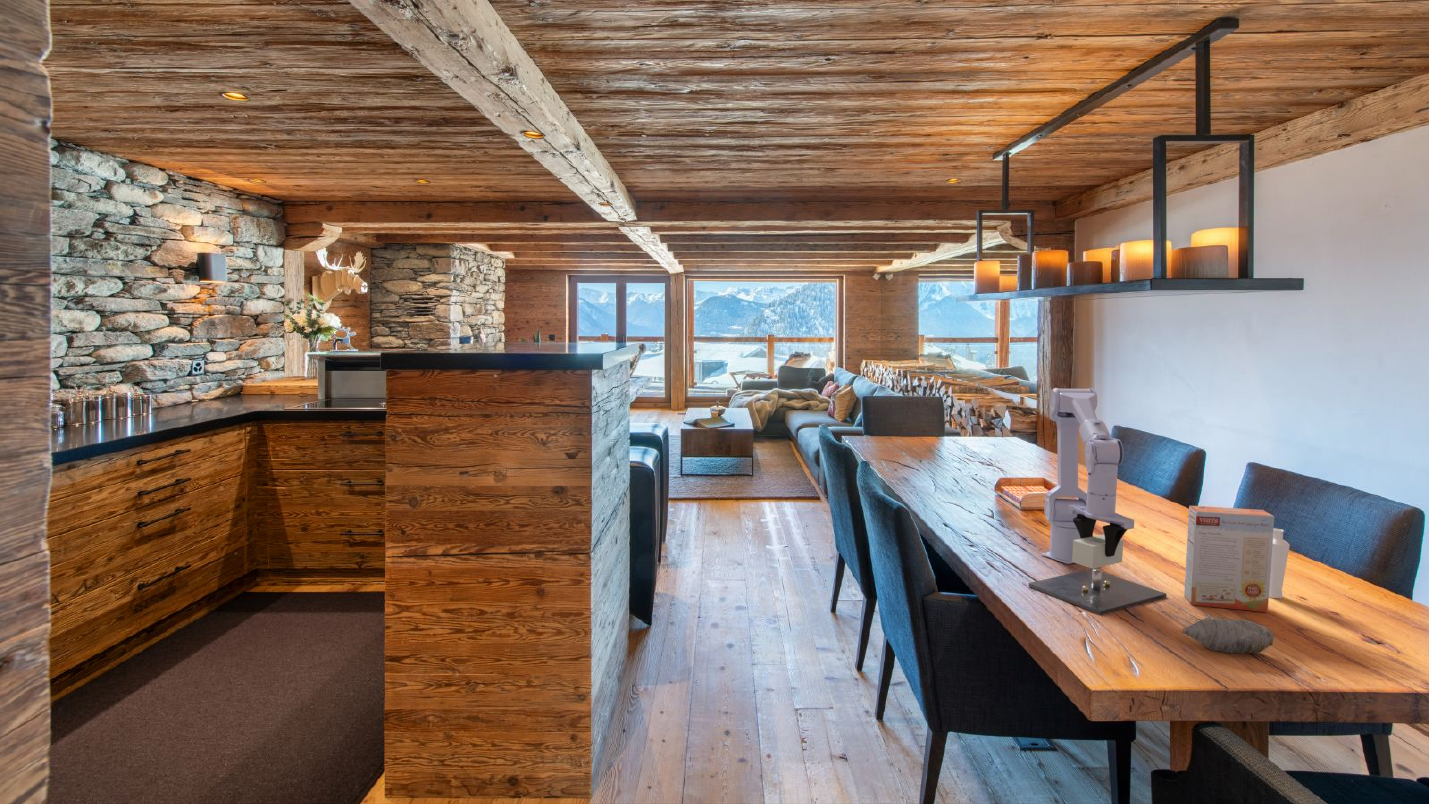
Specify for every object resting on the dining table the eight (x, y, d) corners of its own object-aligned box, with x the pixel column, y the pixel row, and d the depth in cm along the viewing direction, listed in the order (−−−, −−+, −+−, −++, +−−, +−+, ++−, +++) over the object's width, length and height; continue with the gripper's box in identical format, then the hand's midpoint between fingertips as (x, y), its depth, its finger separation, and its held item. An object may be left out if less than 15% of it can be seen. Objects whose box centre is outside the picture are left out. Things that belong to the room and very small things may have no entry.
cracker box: (1257, 603, 153) (1265, 508, 151) (1268, 614, 148) (1276, 516, 145) (1182, 595, 158) (1188, 503, 156) (1190, 605, 152) (1197, 510, 150)
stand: (1092, 571, 173) (1093, 551, 172) (1166, 597, 157) (1167, 575, 156) (1028, 586, 163) (1029, 565, 163) (1100, 615, 147) (1101, 591, 147)
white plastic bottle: (1279, 600, 154) (1285, 534, 153) (1256, 594, 158) (1262, 528, 157) (1290, 597, 156) (1296, 531, 155) (1267, 590, 160) (1272, 526, 159)
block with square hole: (1101, 555, 164) (1102, 534, 163) (1122, 561, 159) (1123, 540, 159) (1072, 561, 159) (1073, 540, 159) (1092, 568, 155) (1093, 546, 154)
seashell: (1174, 623, 137) (1198, 591, 133) (1247, 656, 134) (1273, 625, 131) (1182, 643, 131) (1207, 610, 128) (1259, 678, 128) (1287, 646, 125)
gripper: (1060, 488, 162) (1057, 545, 164) (1120, 502, 149) (1116, 564, 151) (1081, 485, 165) (1078, 541, 167) (1142, 498, 152) (1138, 559, 154)
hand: (1098, 552), depth 159 cm, fingers closed on block with square hole, 5 cm apart
